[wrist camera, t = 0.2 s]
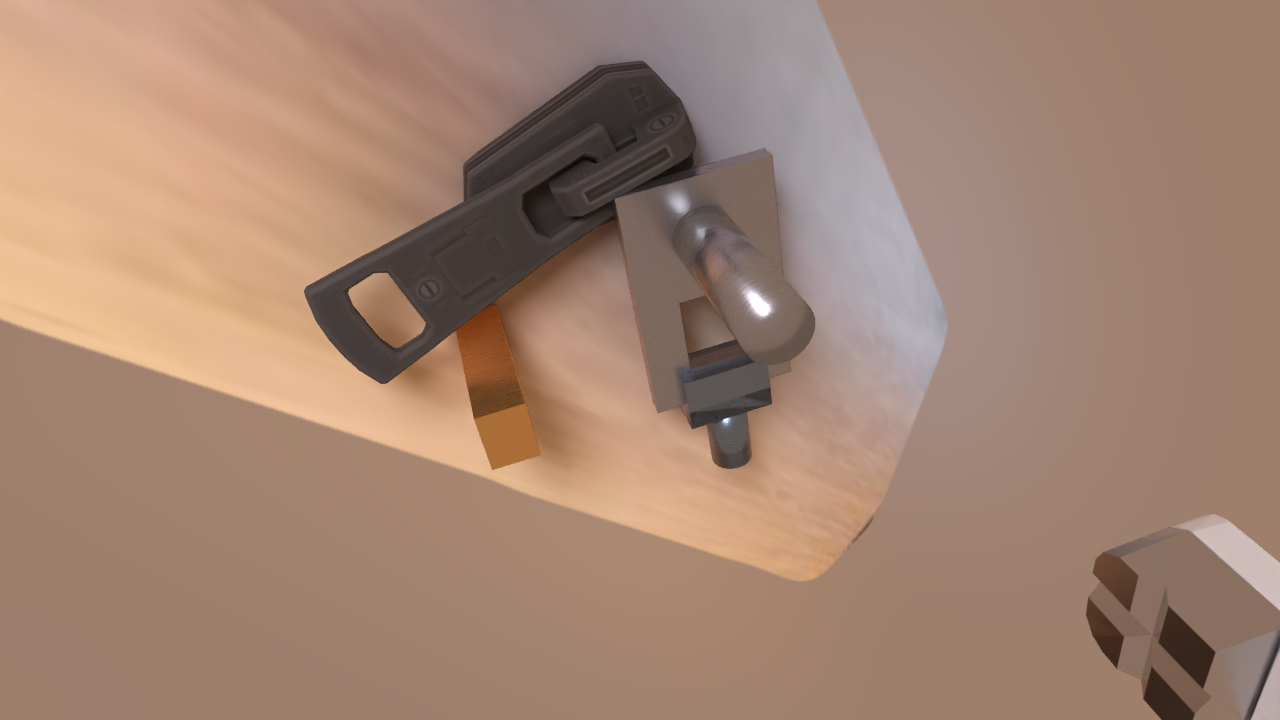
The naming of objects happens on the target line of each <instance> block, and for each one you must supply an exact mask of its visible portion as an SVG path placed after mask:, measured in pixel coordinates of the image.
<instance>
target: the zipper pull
mask: <svg viewBox="0 0 1280 720" xmlns="http://www.w3.org/2000/svg"><path fill="white" fill-rule="evenodd" d="M695 146H696V138H695V135H694V132H693V129H692V126H691V123H690V121H689V118H688V116H687V113H686V111H685V109H684V106H683V104H682V101H681V100H680V98H679V97H678V96H677V95H676V94H675V93H674V92H673V91H672V90H671V89H670V88H669V87H668V86H667V85H666V84H665V83H664V82H663V80H662V79H661V78H660V77H659V76H658V75H657V74H656V73H655V72H654V71H653V70H652V69H651V68H650V67H649V66H648V65H647V64H646V63H645V62H643V61H636V62H628V63H619V64H610V65H600V66H597V67H596V68H594V69H593V70H592V71H590V72H589V73H587V74H586V75H585V76H583V77H582V78H580V79H579V80H578V81H576V82H575V83H573V84H572V85H571V86H569V87H568V88H566V89H565V90H564V91H562V92H561V93H559V94H558V95H557V96H555V97H554V98H552V99H551V100H550V101H548V102H547V103H545V104H544V105H543V106H541V107H540V108H538V109H537V110H536V111H534V112H533V113H532V114H530V115H529V116H527V117H526V118H525V119H523V120H522V121H520V122H519V123H518V124H516V125H515V126H513V127H512V128H511V129H509V130H508V131H506V132H505V133H504V134H502V135H501V136H499V137H498V138H497V139H495V140H494V141H492V142H491V143H490V144H488V145H487V146H485V147H484V148H483V149H481V150H480V151H478V152H477V153H476V154H475V155H473V156H472V157H471V158H470V159H469V160H467V161H466V162H465V163H464V166H463V176H464V202H463V203H461V204H459V205H457V206H455V207H453V208H451V209H450V210H448V211H446V212H444V213H442V214H440V215H439V216H437V217H435V218H433V219H431V220H429V221H427V222H426V223H424V224H422V225H420V226H418V227H416V228H415V229H413V230H411V231H409V232H407V233H405V234H403V235H402V236H400V237H398V238H396V239H394V240H392V241H391V242H389V243H387V244H385V245H383V246H381V247H379V248H378V249H376V250H374V251H372V252H370V253H368V254H365V255H363V256H362V257H360V258H358V259H356V260H354V261H352V262H351V263H349V264H347V265H345V266H343V267H341V268H340V269H338V270H336V271H334V272H332V273H330V274H329V275H327V276H325V277H323V278H321V279H320V280H318V281H316V282H314V283H312V284H310V285H309V286H307V287H306V288H305V291H304V293H305V297H306V299H307V301H308V304H309V306H310V308H311V310H312V313H313V315H314V317H315V320H316V322H317V323H318V325H319V326H320V328H321V329H322V330H323V332H324V333H325V335H326V336H327V338H328V339H329V340H330V341H331V342H332V344H333V345H334V346H335V347H336V348H337V349H338V350H339V352H340V353H341V354H342V355H343V356H344V357H345V358H346V359H347V360H348V361H349V362H351V363H352V364H353V365H354V366H355V367H356V368H357V369H358V370H359V371H361V372H363V373H364V374H366V375H368V376H369V377H371V378H372V379H374V380H376V381H377V382H379V383H381V384H386V383H388V382H389V381H390V380H392V379H393V378H394V377H396V376H397V375H398V374H400V373H401V372H402V371H404V370H405V369H406V368H408V367H409V366H410V365H412V364H413V363H414V362H416V361H417V360H418V359H420V358H421V357H422V356H424V355H425V354H426V353H428V352H429V351H430V350H432V349H433V348H434V347H435V346H437V345H438V344H439V343H440V342H441V341H443V340H444V339H445V338H446V337H448V336H449V335H450V334H452V333H453V332H454V331H456V330H457V329H458V328H460V327H461V326H462V325H463V324H465V323H466V322H467V321H469V320H470V319H471V318H473V317H474V316H475V315H477V314H478V313H479V312H481V311H482V310H483V309H484V308H486V307H487V306H488V305H490V304H491V303H492V302H494V301H495V300H496V299H498V298H499V297H500V296H502V295H503V294H504V293H506V292H507V291H508V290H509V289H511V288H512V287H513V286H515V285H516V284H517V283H519V282H520V281H521V280H523V279H524V278H525V277H527V276H528V275H529V274H530V273H532V272H533V271H534V270H536V269H537V268H538V267H540V266H541V265H542V264H544V263H545V262H546V261H548V260H549V259H550V258H552V257H553V256H555V255H556V254H558V253H559V252H560V251H562V250H563V249H565V248H566V247H568V246H569V245H571V244H572V243H574V242H575V241H577V240H578V239H580V238H581V237H583V236H584V235H586V234H587V233H589V232H590V231H592V230H593V229H595V228H596V227H598V226H600V225H602V224H605V223H607V222H609V221H612V220H614V219H615V214H614V209H613V205H612V200H614V198H613V197H614V196H618V195H621V194H624V193H627V192H628V191H630V190H632V189H634V188H636V187H637V186H639V185H641V184H643V183H644V182H646V181H648V180H652V179H656V178H659V177H663V176H666V175H670V174H674V173H677V172H681V171H684V170H688V169H691V168H692V167H693V164H694V162H693V150H694V149H695ZM373 273H388V274H389V275H390V277H391V278H392V279H393V280H394V282H395V283H396V284H397V286H398V287H399V288H400V290H401V291H402V292H403V293H404V295H405V296H406V297H407V299H408V300H409V301H410V303H411V304H412V305H413V306H414V308H415V309H416V310H417V312H418V313H419V314H420V316H421V317H422V318H423V319H424V321H425V322H426V326H425V328H424V330H423V332H422V333H421V334H420V335H418V336H417V337H415V338H414V339H412V340H411V341H409V342H408V343H406V344H405V345H403V346H402V347H400V348H393V347H392V346H391V345H389V344H388V343H386V342H385V341H383V340H382V339H381V338H379V336H378V335H377V334H376V333H375V332H374V330H373V329H372V328H371V327H370V326H369V324H368V323H367V322H366V321H365V319H364V318H363V317H362V316H361V315H360V313H359V312H358V311H357V310H356V309H355V307H354V306H353V304H352V302H351V300H350V297H349V295H348V291H349V289H350V288H351V287H353V286H355V285H356V284H358V283H359V282H361V281H362V280H364V279H366V278H367V277H369V276H370V275H372V274H373Z"/></svg>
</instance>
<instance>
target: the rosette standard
mask: <svg viewBox="0 0 1280 720" xmlns="http://www.w3.org/2000/svg"><path fill="white" fill-rule="evenodd" d="M613 198H614V200H612V205H613V209H614V214H615V219H616V224H617V229H618V234H619V239H620V244H621V249H622V254H623V259H624V263H625V268H626V273H627V278H628V283H629V288H630V293H631V298H632V303H633V308H634V312H635V317H636V322H637V327H638V332H639V337H640V342H641V347H642V352H643V357H644V362H645V366H646V371H647V376H648V381H649V386H650V391H651V396H652V401H653V404H654V406H655V408H656V410H657V412H658V413H659V412H663V411H666V410H669V409H672V408H675V407H679V406H680V407H681V409H682V411H683V413H684V415H685V417H686V418H687V420H688V422H689V424H690V426H691V428H692V429H694V428H697V427H700V426H704V425H707V430H708V436H709V442H710V448H711V454H712V459H713V461H714V463H715V464H716V465H718V466H719V467H722V468H727V469H733V468H738V467H741V466H743V465H745V464H746V463H747V462H748V461H749V460H750V459H751V456H752V450H751V443H750V435H749V427H748V419H747V412H748V411H751V410H754V409H757V408H760V407H763V406H767V405H770V404H772V400H771V390H770V381H769V378H771V377H774V376H777V375H781V374H784V373H787V372H790V371H791V367H790V360H791V359H792V358H794V357H795V356H797V355H798V354H799V353H800V352H802V351H803V350H804V348H805V347H806V346H807V345H808V343H809V342H810V340H811V338H812V336H813V333H814V329H815V317H814V314H813V312H812V310H811V308H810V307H809V306H808V305H807V303H806V302H805V301H804V300H803V299H802V298H801V297H800V295H799V294H798V293H797V292H796V291H795V290H794V289H793V288H792V286H791V285H790V284H789V283H788V282H787V281H786V280H785V279H784V277H783V273H782V261H781V250H780V238H779V226H778V214H777V203H776V191H775V179H774V168H773V156H772V154H771V153H770V152H769V151H767V150H766V149H765V148H764V149H760V150H756V151H753V152H749V153H746V154H742V155H738V156H735V157H731V158H728V159H724V160H720V161H717V162H713V163H710V164H706V165H702V166H699V167H695V168H692V169H688V170H684V171H681V172H677V173H674V174H670V175H666V176H663V177H659V178H656V179H652V180H648V181H646V182H644V183H643V184H641V185H639V186H637V187H636V188H634V189H632V190H630V191H628V192H627V193H624V194H621V195H618V196H614V197H613ZM705 295H706V297H707V298H708V300H709V301H710V303H711V304H712V305H713V307H714V308H715V310H716V311H717V313H718V314H719V315H720V317H721V318H722V320H723V321H724V323H725V324H726V325H727V327H728V328H729V330H730V331H731V332H732V334H733V335H734V337H735V338H736V339H735V340H732V341H729V342H726V343H722V344H719V345H716V346H712V347H709V348H706V349H703V350H699V351H696V352H693V353H690V354H688V353H687V347H686V341H685V335H684V329H683V323H682V317H681V311H680V305H679V303H682V302H685V301H688V300H692V299H695V298H699V297H702V296H705Z"/></svg>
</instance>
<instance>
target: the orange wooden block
mask: <svg viewBox="0 0 1280 720" xmlns="http://www.w3.org/2000/svg"><path fill="white" fill-rule="evenodd" d="M456 333H457V338H458V343H459V348H460V352H461V357H462V362H463V367H464V372H465V377H466V382H467V387H468V392H469V397H470V402H471V406H472V411H473V416H474V420H475V423H476V426H477V429H478V431H479V434H480V437H481V440H482V442H483V445H484V448H485V451H486V454H487V456H488V459H489V462H490V465H491V468H492V470H494V469H497V468H500V467H504V466H507V465H510V464H513V463H516V462H520V461H523V460H526V459H529V458H532V457H535V456H539V455H541V454H540V450H539V447H538V443H537V440H536V437H535V433H534V430H533V426H532V423H531V419H530V416H529V413H528V409H527V406H526V402H525V399H524V395H523V392H522V389H521V385H520V382H519V378H518V375H517V372H516V368H515V365H514V361H513V358H512V354H511V351H510V348H509V345H508V341H507V338H506V335H505V332H504V328H503V325H502V322H501V319H500V316H499V312H498V309H497V306H496V304H495V305H491V306H488V307H486V308H484V309H483V310H482V311H481V312H479V313H478V314H477V315H475V316H474V317H473V318H471V319H470V320H469V321H467V322H466V323H465V324H463V325H462V326H461V327H460V328H458V329H457V330H456Z"/></svg>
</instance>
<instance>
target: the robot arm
mask: <svg viewBox="0 0 1280 720" xmlns="http://www.w3.org/2000/svg"><path fill="white" fill-rule="evenodd" d="M1093 574H1094V575H1095V576H1096V577H1097V578H1098V579H1099V580H1100V581H1101V582H1100V583H1099V584H1098V585H1097V587H1096V588H1095V589H1094V591H1093V592H1092V593H1091V594H1090V595H1089V597H1088V603H1087V611H1086V616H1087V620H1088V623H1089V626H1090V629H1091V632H1092V635H1093V637H1094V639H1095V640H1096V642H1097V644H1098V645H1099V647H1100V649H1101V650H1102V652H1103V653H1104V654H1105V655H1106V657H1107V658H1108V659H1109V660H1110V661H1111V662H1112V664H1113V665H1114V666H1115V667H1116V668H1117V669H1118V670H1121V671H1123V672H1125V673H1127V674H1130V675H1132V676H1134V677H1136V678H1139V679H1141V683H1142V692H1143V699H1144V700H1145V701H1146V703H1147V704H1148V705H1149V706H1150V707H1151V708H1152V710H1153V711H1154V712H1155V713H1156V714H1157V715H1158V716H1159V717H1160V718H1161V720H1280V563H1279V562H1278V561H1277V560H1276V559H1274V558H1273V557H1272V556H1271V555H1269V554H1268V553H1267V552H1266V551H1265V550H1263V549H1262V548H1261V547H1260V546H1259V545H1257V544H1256V543H1255V542H1254V541H1252V540H1251V539H1250V538H1249V537H1248V536H1246V535H1245V534H1244V533H1243V532H1241V531H1240V530H1239V529H1238V528H1236V527H1235V526H1234V525H1233V524H1232V523H1231V522H1229V521H1228V520H1226V519H1225V518H1222V517H1220V516H1217V515H1215V514H1210V515H1203V516H1201V517H1198V518H1195V519H1192V520H1190V521H1187V522H1184V523H1182V524H1179V525H1176V526H1174V527H1168V528H1166V529H1163V530H1160V531H1158V532H1155V533H1152V534H1150V535H1147V536H1145V537H1142V538H1140V539H1137V540H1134V541H1132V542H1129V543H1126V544H1124V545H1121V546H1118V547H1116V548H1113V549H1111V550H1108V551H1106V552H1103V553H1102V554H1101V555H1100V556H1099V557H1097V558H1096V560H1095V565H1094V569H1093Z"/></svg>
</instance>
